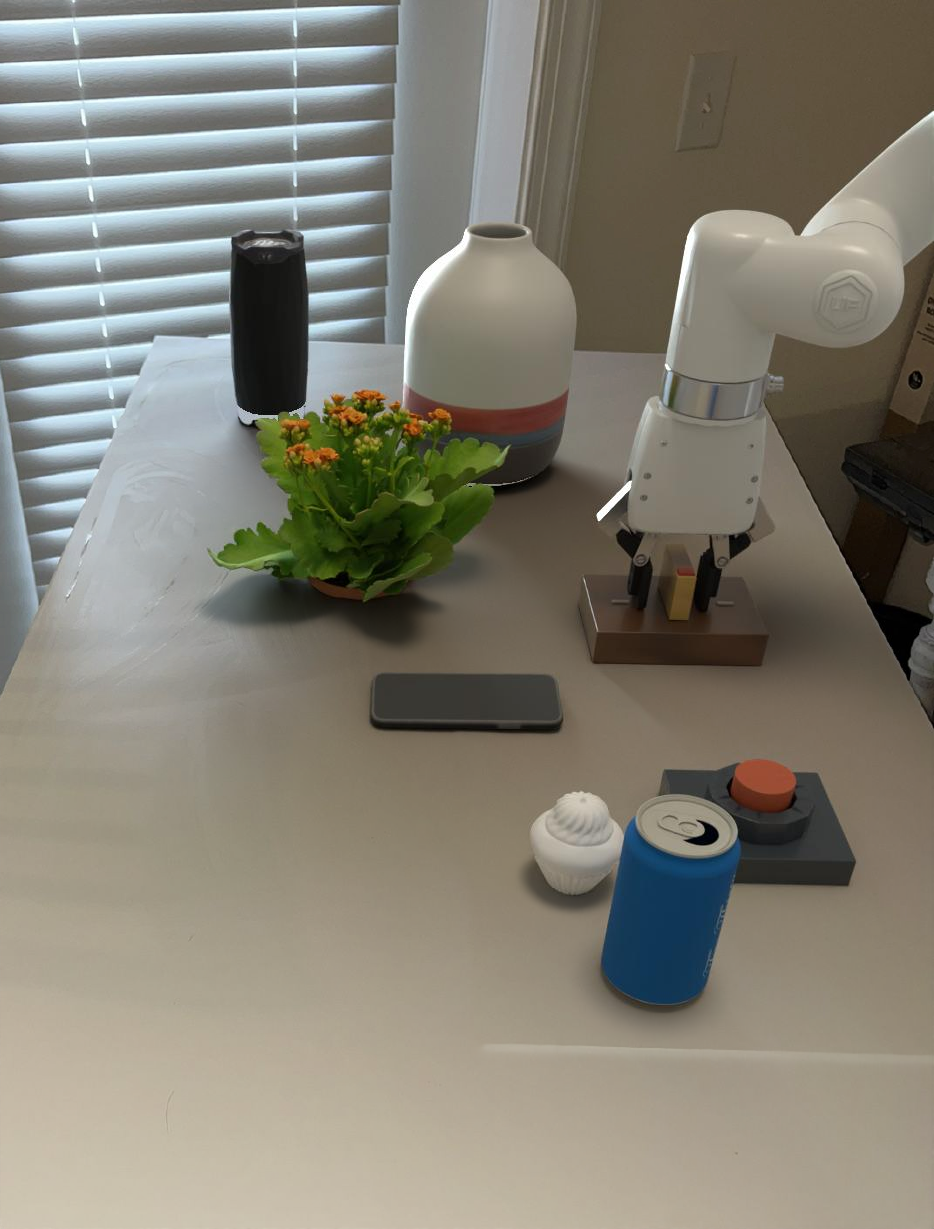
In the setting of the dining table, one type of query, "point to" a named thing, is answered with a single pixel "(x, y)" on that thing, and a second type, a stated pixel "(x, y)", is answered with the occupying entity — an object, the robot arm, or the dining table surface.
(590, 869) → the muffin
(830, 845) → the button block
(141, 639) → the dining table surface
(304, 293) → the portable speaker
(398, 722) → the smartphone
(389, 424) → the potted flower
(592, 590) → the plate
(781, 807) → the button
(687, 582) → the yellow red-marked block
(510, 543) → the dining table surface
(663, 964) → the beverage can
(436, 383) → the vase
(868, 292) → the robot arm
